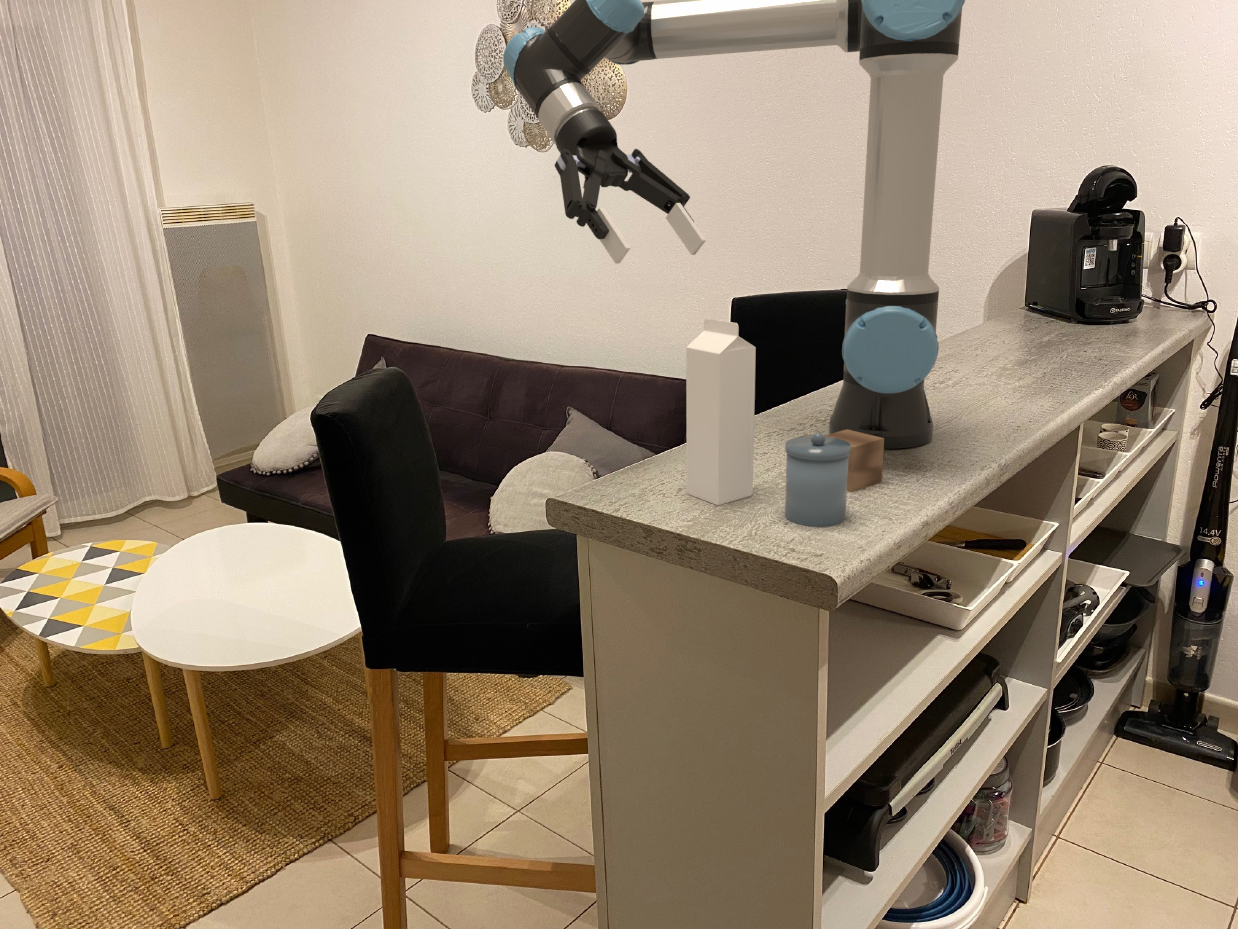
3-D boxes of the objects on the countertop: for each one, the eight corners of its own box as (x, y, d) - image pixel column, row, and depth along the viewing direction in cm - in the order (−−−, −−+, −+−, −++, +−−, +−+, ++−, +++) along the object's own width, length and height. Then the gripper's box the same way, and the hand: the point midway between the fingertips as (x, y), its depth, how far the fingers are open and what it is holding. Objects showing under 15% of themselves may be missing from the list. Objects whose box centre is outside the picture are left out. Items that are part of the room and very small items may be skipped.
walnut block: (845, 472, 128) (847, 429, 126) (881, 482, 124) (884, 438, 122) (815, 481, 125) (816, 437, 123) (851, 492, 120) (853, 447, 118)
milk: (718, 506, 116) (719, 326, 110) (685, 494, 121) (684, 320, 114) (753, 495, 120) (757, 320, 113) (721, 483, 125) (722, 314, 118)
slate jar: (823, 502, 117) (827, 421, 114) (860, 521, 110) (864, 436, 107) (771, 511, 114) (773, 429, 111) (805, 531, 108) (808, 445, 105)
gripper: (633, 150, 136) (712, 263, 130) (490, 151, 119) (573, 281, 113) (659, 108, 130) (743, 224, 124) (514, 103, 114) (602, 236, 108)
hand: (662, 251), depth 119 cm, fingers open, 13 cm apart
